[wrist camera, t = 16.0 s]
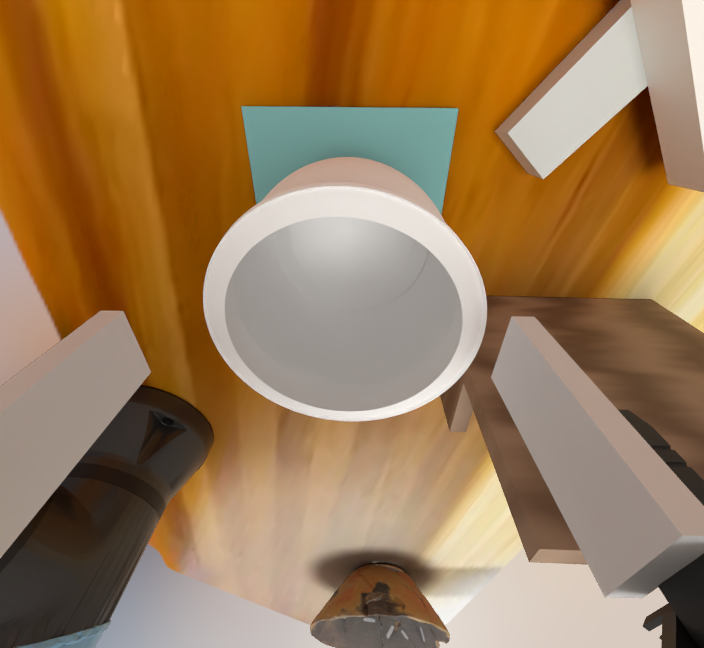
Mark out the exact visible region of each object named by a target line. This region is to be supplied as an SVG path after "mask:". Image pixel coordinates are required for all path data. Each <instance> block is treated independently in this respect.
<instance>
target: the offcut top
mask: <svg viewBox="0 0 704 648" xmlns="http://www.w3.org/2000/svg"><path fill="white" fill-rule="evenodd" d="M630 2H631V6H632V11H633V16H634V21H635V26H636V31H637V35H638V40H639V45H640V50H641V55H642V60H643V65H644V69H645V74H646V79H647V84H648V89H649V94H650V98H651V103H652V108H653V113H654V118H655V123H656V127H657V132H658V137H659V142H660V147H661V152H662V156H663V161H664V166H665V171H666V176H667V181H668V184H670V185H675V186H679V187H683V188H688V189H692V190H696V191H701V192H704V0H630Z"/></svg>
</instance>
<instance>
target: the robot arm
mask: <svg viewBox="0 0 704 648" xmlns="http://www.w3.org/2000/svg"><path fill="white" fill-rule="evenodd" d="M150 373H151V371H150V368H149V366H148V364H147V362H146V360H145V357H144V355H143V353H142V351H141V349H140V346H139V344H138V342H137V340H136V338H135V335H134V333H133V331H132V329H131V327H130V324H129V322H128V320H127V318H126V316H125V313H124V311H100V312H98V313H97V314H96V315H94V316H93V317H92V318H90V319H89V320H88V321H86V322H85V323H84V324H82V325H81V326H80V327H78V328H77V329H76V330H74V331H73V332H72V333H70V334H69V335H68V336H67V337H65V338H64V339H63V340H61V341H60V342H59V343H57V344H56V345H55V346H53V347H52V348H51V349H49V350H48V351H47V352H45V353H44V354H43V355H41V356H40V357H39V358H37V359H36V360H35V361H33V362H32V363H31V364H29V365H28V366H27V367H25V368H24V369H23V370H21V371H20V372H19V373H17V374H16V375H15V376H13V377H12V378H11V379H9V380H8V381H7V382H5V383H4V384H3V385H1V386H0V648H95V646H96V645H97V643H98V641H99V639H100V638H101V636H102V634H103V632H104V631H105V630H106V629H107V628H108V626H109V625H110V622H111V620H110V618H111V616H112V614H113V612H114V610H115V608H116V606H117V604H118V602H119V600H120V598H121V596H122V594H123V592H124V590H125V588H126V586H127V584H128V582H129V580H130V578H131V576H132V574H133V572H134V570H135V568H136V566H137V564H138V562H139V560H140V558H141V556H142V554H143V552H144V550H145V548H146V546H147V544H148V542H149V540H150V538H151V536H152V534H153V532H154V530H155V528H156V526H157V524H158V522H159V520H160V518H161V516H162V514H163V512H164V510H165V508H166V506H167V504H168V503H169V501H170V500H171V499H172V498H173V497H174V496H175V495H176V494H177V492H178V491H179V490H180V489H181V488H182V487H183V486H184V485H185V484H186V482H187V481H188V480H189V479H190V478H191V477H192V475H193V474H194V473H195V472H196V471H197V470H198V469H199V468H200V467H201V466H202V465H203V463H204V461H205V460H206V458H207V456H208V453H209V451H210V449H211V447H212V444H213V433H212V430H211V427H210V425H209V424H208V422H207V421H206V419H205V418H204V417H203V416H202V415H201V414H200V413H199V412H198V411H197V410H196V409H194V408H193V407H192V406H190V405H189V404H187V403H186V402H184V401H182V400H181V399H179V398H177V397H175V396H173V395H170V394H168V393H165V392H162V391H159V390H156V389H152V388H147V387H141V386H140V385H141V384H142V383H143V382H144V380H145V379H146V378H147V377H148V375H149V374H150ZM491 378H492V380H493V382H494V384H495V386H496V388H497V390H498V392H499V394H500V396H501V397H502V399H503V401H504V403H505V405H506V407H507V409H508V411H509V413H510V415H511V417H512V419H513V421H514V423H515V425H516V426H517V428H518V430H519V432H520V434H521V436H522V438H523V440H524V442H525V444H526V446H527V448H528V450H529V452H530V453H531V455H532V457H533V459H534V461H535V463H536V465H537V467H538V469H539V471H540V473H541V475H542V477H543V479H544V481H545V482H546V484H547V486H548V488H549V490H550V492H551V494H552V496H553V498H554V500H555V502H556V504H557V506H558V508H559V510H560V511H561V513H562V515H563V517H564V519H565V521H566V523H567V525H568V527H569V529H570V531H571V533H572V535H573V537H574V539H575V540H576V542H577V544H578V546H579V548H580V550H581V552H582V554H583V556H584V558H585V560H586V562H587V564H588V565H589V567H590V569H591V571H592V573H593V575H594V577H595V579H596V581H597V583H598V585H599V587H600V589H601V591H602V593H603V595H604V596H605V597H606V598H607V597H609V598H610V597H611V598H643V597H645V596H646V595H647V594H649V593H650V592H652V591H653V590H655V589H656V588H657V587H659V588H660V590H661V591H662V593H663V594H664V596H665V598H666V599H667V601H668V602H669V603H668V604H667V605H665V606H663V607H662V608H660V609H658V610H657V611H655V612H654V613H652V614H651V615H649V616H647V617H646V619H645V622H644V624H643V627H644V628H646V629H647V630H648V631H651V630H652V629H654V628H656V627H657V626H659V625H661V624H662V635H661V636H660V639H661V640H662V648H704V480H703V479H702V478H701V477H700V476H699V475H698V474H697V473H696V472H695V471H694V470H693V469H692V468H691V467H688V466H687V464H686V463H687V462H686V461H685V460H684V459H683V458H682V457H681V456H680V455H679V454H678V453H677V452H676V451H675V450H672V449H671V446H670V445H669V444H668V442H667V441H666V440H665V439H664V438H663V437H662V436H661V435H660V434H659V433H658V432H657V431H656V430H655V429H654V428H653V427H652V426H651V425H649V424H648V423H647V422H645V421H644V420H642V419H641V418H639V417H638V416H637V415H635V414H634V413H632V412H631V411H629V410H617V408H616V407H615V406H614V405H613V404H612V403H611V402H610V401H609V399H608V398H607V397H606V396H605V395H604V394H603V393H602V392H601V391H600V389H599V388H598V387H597V386H596V385H595V384H594V383H593V382H592V380H591V379H590V378H589V377H588V376H587V375H586V374H585V373H584V372H583V370H582V369H581V368H580V367H579V366H578V365H577V364H576V363H575V361H574V360H573V359H572V358H571V357H570V356H569V355H568V354H567V352H566V351H565V350H564V349H563V348H562V347H561V346H560V345H559V344H558V342H557V341H556V340H555V339H554V338H553V337H552V336H551V335H550V333H549V332H548V331H547V330H546V329H545V328H544V327H543V326H542V325H541V323H540V322H539V321H538V320H537V319H536V318H535V317H525V316H512V317H511V320H510V323H509V325H508V328H507V331H506V334H505V337H504V340H503V343H502V346H501V349H500V352H499V355H498V358H497V361H496V364H495V367H494V370H493V373H492V376H491Z"/></svg>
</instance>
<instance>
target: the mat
mask: <svg viewBox="0 0 704 648" xmlns="http://www.w3.org/2000/svg"><path fill="white" fill-rule="evenodd" d="M241 108H242V114H243V120H244V127H245V133H246V140H247V146H248V153H249V159H250V166H251V172H252V179H253V185H254V192H255V198H256V204H258V203H259V202H261V201H262V200H263V199H264V198H265V196H266V195H267V194H268V193H269V192H270V191H271V190H272V189H273V188H274V187H275V186H276V185H277V184H278V183H279V182H281V181H282V180H283V179H284V178H286V177H287V176H289V175H290V174H292V173H293V172H295V171H297V170H298V169H300V168H302V167H304V166H306V165H309V164H311V163H314V162H317V161H321V160H325V159H329V158H336V157H358V158H365V159H370V160H374V161H377V162H380V163H383V164H385V165H388V166H390V167H392V168H394V169H396V170H398V171H399V172H401V173H403V174H404V175H406V176H407V177H408V178H410V179H411V180H412V181H413V182H415V183H416V184H417V185H418V186H419V187H420V188H421V189H422V190H423V191H424V192H425V193H426V194H427V195H428V197H429V198H430V199H431V200H432V202H433V203H434V205H435V206H436V207H437V209H438V211H439V212H440V214H442V208H443V201H444V195H445V189H446V183H447V177H448V171H449V164H450V158H451V152H452V146H453V140H454V134H455V127H456V121H457V115H458V109H459V108H380V107H270V106H241Z"/></svg>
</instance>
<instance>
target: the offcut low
mask: <svg viewBox="0 0 704 648" xmlns="http://www.w3.org/2000/svg"><path fill="white" fill-rule="evenodd" d="M647 86H648V84H647V79H646V74H645V69H644V65H643V60H642V55H641V50H640V45H639V40H638V35H637V31H636V26H635V21H634V16H633V11H632V6H631V2H630V0H620V1H619V2H618V3H617V4H616V5H615V6H614V7H613V8H612V9H611V10H610V11H609V12H608V13H607V15H606V16H605V17H604V18H603V19H602V20H601V21H600V22H599V23H598V24H597V25H596V26H595V27H594V28H593V29H592V30H591V31H590V32H589V33H588V34H587V35H586V36H585V38H584V39H583V40H582V41H581V42H580V43H579V44H578V45H577V46H576V47H575V48H574V49H573V50H572V51H571V52H570V53H569V54H568V55H567V56H566V57H565V58H564V59H563V61H562V62H561V63H560V64H559V65H558V66H557V67H556V68H555V69H554V70H553V71H552V72H551V73H550V74H549V75H548V76H547V77H546V78H545V79H544V80H543V81H542V82H541V84H540V85H539V86H538V87H537V88H536V89H535V90H534V91H533V92H532V93H531V94H530V95H529V96H528V97H527V98H526V99H525V100H524V101H523V102H522V103H521V104H520V105H519V107H518V108H517V109H516V110H515V111H514V112H513V113H512V114H511V115H510V116H509V117H508V118H507V119H506V120H505V121H504V122H503V123H502V124H501V125H500V126H499V127H498V128H497V130H496V131H495V133H496V134H497V135H498V136H499V138H500V139H501V140H502V141H503V143H504V144H505V145H506V146H507V148H508V149H509V150H510V152H511V153H512V154H513V155H514V157H515V158H516V159H517V160H518V162H519V163H520V164H521V165H522V167H523V168H524V169H525V171H526V172H527V173H528V174H530V175H533V176H536V177H539V178H541V179H544V178H545V177H546V176H548V175H549V174H550V173H551V172H552V171H553V170H554V169H555V168H556V167H558V166H559V165H560V164H561V163H562V162H563V161H564V160H565V159H567V158H568V157H569V156H570V155H571V154H572V153H573V152H574V151H575V150H577V149H578V148H579V147H580V146H581V145H582V144H583V143H584V142H586V141H587V140H588V139H589V138H590V137H591V136H592V135H593V134H594V133H596V132H597V131H598V130H599V129H600V128H601V127H602V126H603V125H605V124H606V123H607V122H608V121H609V120H610V119H611V118H612V117H613V116H615V115H616V114H617V113H618V112H619V111H620V110H621V109H622V108H623V107H625V106H626V105H627V104H628V103H629V102H630V101H631V100H632V99H634V98H635V97H636V96H637V95H638V94H639V93H640V92H641V91H642V90H644V89H645V88H646V87H647Z"/></svg>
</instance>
